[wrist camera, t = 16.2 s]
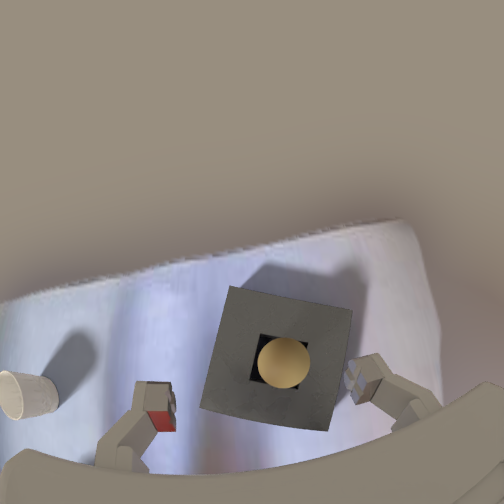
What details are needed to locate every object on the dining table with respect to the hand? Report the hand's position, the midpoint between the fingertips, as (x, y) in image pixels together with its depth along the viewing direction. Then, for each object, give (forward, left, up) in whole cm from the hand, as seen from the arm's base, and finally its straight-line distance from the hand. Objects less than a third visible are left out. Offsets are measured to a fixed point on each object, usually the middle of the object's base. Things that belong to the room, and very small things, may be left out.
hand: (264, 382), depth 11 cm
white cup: (+34, +18, -26) cm, 46 cm away
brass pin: (-2, -1, -26) cm, 26 cm away
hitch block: (-2, -1, -26) cm, 26 cm away
